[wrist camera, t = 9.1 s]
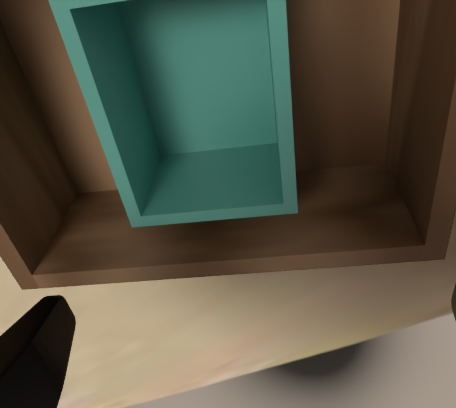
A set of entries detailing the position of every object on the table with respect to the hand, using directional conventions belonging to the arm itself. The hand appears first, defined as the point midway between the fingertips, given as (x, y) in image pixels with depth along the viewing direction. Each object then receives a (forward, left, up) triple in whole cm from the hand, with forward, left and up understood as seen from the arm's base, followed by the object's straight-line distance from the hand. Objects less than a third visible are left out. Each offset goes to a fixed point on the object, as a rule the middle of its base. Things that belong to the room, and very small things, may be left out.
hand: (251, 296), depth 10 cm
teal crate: (+2, -2, -11) cm, 11 cm away
